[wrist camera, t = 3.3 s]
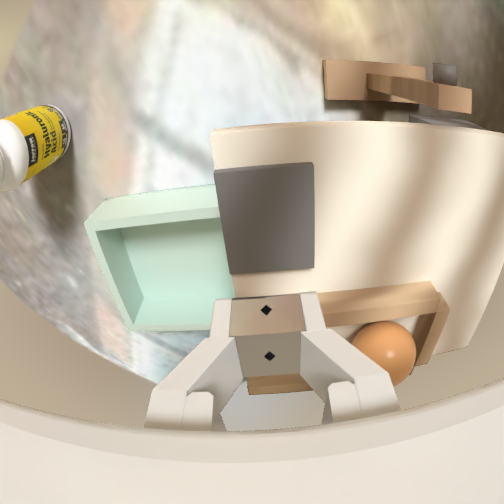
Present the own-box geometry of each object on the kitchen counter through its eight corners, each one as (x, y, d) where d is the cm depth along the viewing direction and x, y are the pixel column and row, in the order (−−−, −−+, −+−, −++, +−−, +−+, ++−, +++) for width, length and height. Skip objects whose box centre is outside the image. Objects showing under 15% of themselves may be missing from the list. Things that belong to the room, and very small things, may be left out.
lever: (466, 113, 17) (551, 152, 10) (434, 289, 26) (474, 362, 18) (225, 111, 18) (204, 144, 11) (251, 309, 27) (249, 398, 19)
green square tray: (236, 181, 25) (233, 205, 21) (251, 294, 31) (250, 327, 27) (105, 198, 25) (83, 223, 22) (140, 300, 32) (128, 331, 28)
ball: (410, 302, 17) (434, 353, 13) (396, 346, 19) (413, 394, 16) (346, 310, 17) (362, 366, 14) (339, 354, 19) (351, 406, 16)
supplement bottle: (82, 145, 23) (11, 192, 14) (41, 170, 24) (-26, 220, 15) (59, 91, 20) (-21, 117, 12) (19, 121, 21) (-56, 157, 13)
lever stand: (419, 65, 19) (512, 81, 10) (396, 290, 31) (434, 373, 22) (322, 58, 19) (377, 54, 10) (323, 298, 31) (344, 390, 22)
